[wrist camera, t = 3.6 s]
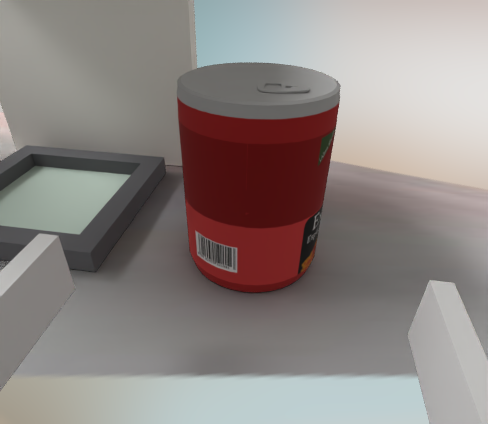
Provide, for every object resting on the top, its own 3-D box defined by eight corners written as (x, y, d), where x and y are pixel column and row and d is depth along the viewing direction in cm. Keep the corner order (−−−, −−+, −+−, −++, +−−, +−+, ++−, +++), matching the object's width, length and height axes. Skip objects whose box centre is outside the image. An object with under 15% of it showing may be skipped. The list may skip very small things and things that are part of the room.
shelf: (128, 289, 21) (26, -184, 11) (-145, 253, 23) (-455, -172, 13) (201, 160, 35) (189, -100, 25) (26, 145, 37) (-54, -101, 27)
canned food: (329, 291, 21) (369, 101, 15) (190, 303, 21) (172, 106, 14) (296, 216, 28) (315, 60, 22) (188, 222, 27) (176, 62, 21)
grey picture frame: (95, 271, 22) (90, 252, 22) (-95, 247, 24) (-107, 228, 23) (165, 172, 33) (164, 157, 32) (31, 160, 35) (26, 145, 34)
